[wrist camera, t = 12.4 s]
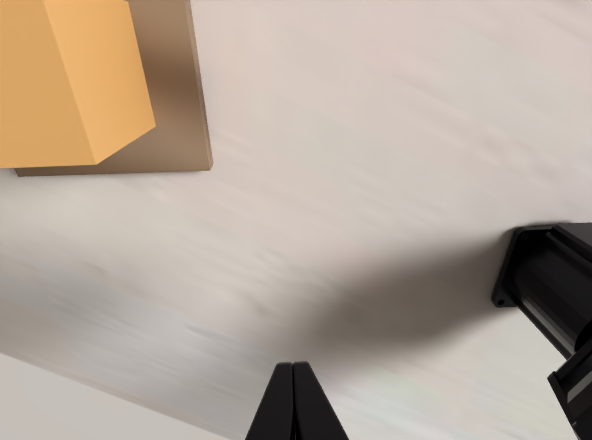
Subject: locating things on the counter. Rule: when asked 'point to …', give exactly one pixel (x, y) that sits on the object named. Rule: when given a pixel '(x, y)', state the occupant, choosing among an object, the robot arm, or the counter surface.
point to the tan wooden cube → (69, 82)
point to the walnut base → (160, 99)
